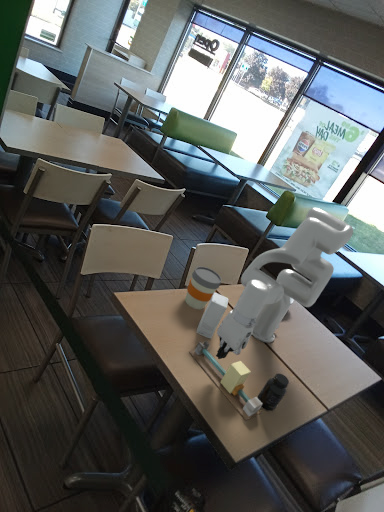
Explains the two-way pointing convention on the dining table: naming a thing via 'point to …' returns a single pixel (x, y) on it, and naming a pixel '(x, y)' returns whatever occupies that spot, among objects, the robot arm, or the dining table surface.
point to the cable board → (216, 373)
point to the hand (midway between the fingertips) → (220, 356)
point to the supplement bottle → (273, 392)
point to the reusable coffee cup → (202, 287)
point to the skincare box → (212, 315)
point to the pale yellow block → (235, 376)
